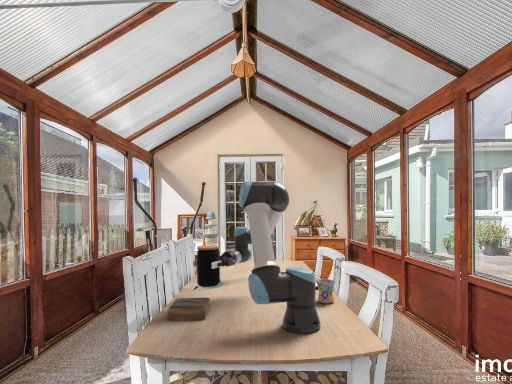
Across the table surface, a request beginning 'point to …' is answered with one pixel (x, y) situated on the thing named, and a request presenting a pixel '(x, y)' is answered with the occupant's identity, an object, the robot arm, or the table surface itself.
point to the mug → (325, 290)
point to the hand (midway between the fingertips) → (202, 264)
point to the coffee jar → (208, 265)
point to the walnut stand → (189, 309)
